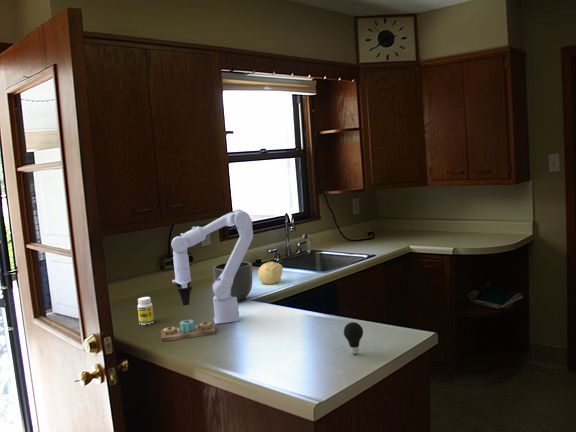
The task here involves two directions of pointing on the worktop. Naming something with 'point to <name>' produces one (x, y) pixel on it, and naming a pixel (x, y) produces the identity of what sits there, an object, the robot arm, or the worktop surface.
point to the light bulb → (353, 336)
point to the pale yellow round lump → (270, 273)
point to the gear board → (200, 330)
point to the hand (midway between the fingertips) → (185, 302)
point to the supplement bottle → (145, 311)
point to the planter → (238, 279)
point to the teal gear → (187, 326)
